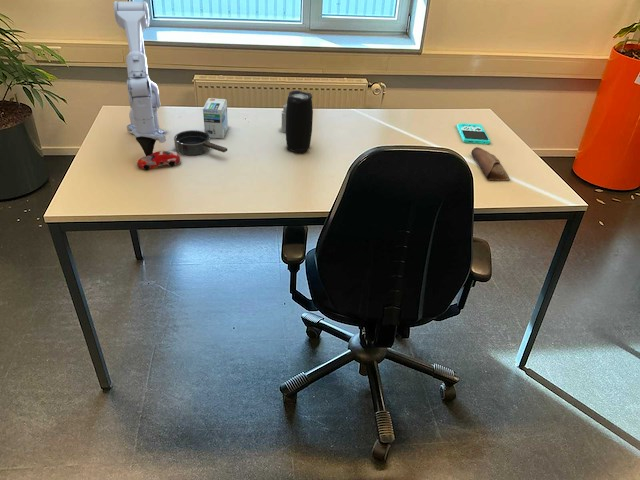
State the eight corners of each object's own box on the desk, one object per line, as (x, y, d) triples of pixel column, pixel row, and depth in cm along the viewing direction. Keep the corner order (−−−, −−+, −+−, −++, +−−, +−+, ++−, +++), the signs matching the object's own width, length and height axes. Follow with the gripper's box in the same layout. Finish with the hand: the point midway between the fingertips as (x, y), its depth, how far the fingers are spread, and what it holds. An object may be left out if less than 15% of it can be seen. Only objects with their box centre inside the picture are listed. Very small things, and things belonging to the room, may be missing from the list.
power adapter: (296, 132, 193) (297, 101, 186) (281, 132, 192) (281, 100, 185) (296, 129, 195) (297, 98, 188) (281, 128, 195) (282, 97, 188)
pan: (168, 149, 175) (166, 138, 173) (191, 138, 184) (190, 127, 182) (194, 159, 171) (193, 148, 169) (217, 146, 179) (216, 136, 177)
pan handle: (203, 145, 173) (203, 143, 172) (207, 143, 174) (207, 141, 174) (224, 152, 170) (223, 150, 169) (227, 150, 171) (227, 148, 170)
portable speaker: (315, 147, 184) (318, 93, 172) (302, 157, 177) (304, 101, 165) (293, 141, 186) (295, 87, 175) (280, 150, 180) (281, 95, 168)
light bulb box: (223, 139, 185) (221, 109, 178) (204, 137, 185) (202, 108, 178) (228, 126, 193) (227, 98, 187) (210, 125, 193) (208, 97, 187)
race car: (139, 172, 162) (137, 160, 160) (136, 164, 166) (134, 152, 164) (181, 165, 167) (180, 154, 165) (178, 158, 171) (177, 147, 169)
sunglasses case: (512, 179, 171) (506, 163, 167) (491, 188, 172) (485, 173, 169) (493, 154, 186) (487, 139, 182) (474, 163, 187) (468, 148, 183)
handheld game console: (481, 127, 207) (482, 123, 206) (490, 144, 194) (491, 141, 193) (455, 125, 207) (456, 122, 206) (463, 142, 194) (464, 139, 193)
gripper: (116, 114, 160) (123, 155, 167) (151, 126, 154) (157, 168, 162) (134, 108, 165) (140, 147, 173) (168, 119, 159) (173, 159, 167)
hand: (149, 156), depth 168 cm, fingers closed
